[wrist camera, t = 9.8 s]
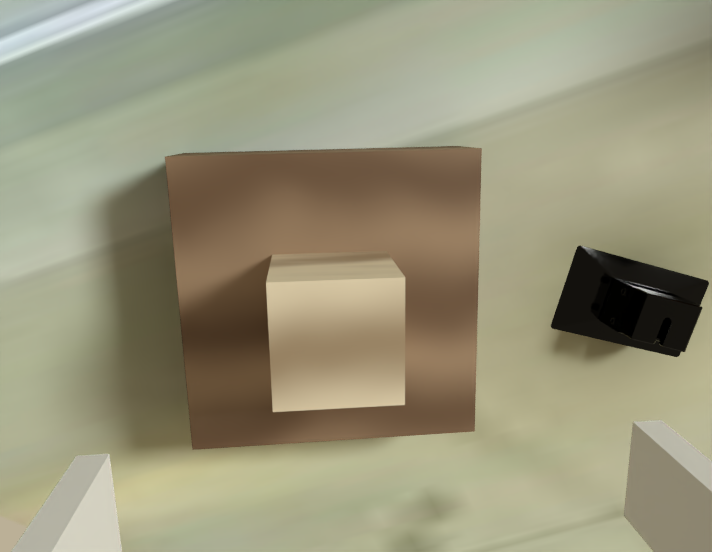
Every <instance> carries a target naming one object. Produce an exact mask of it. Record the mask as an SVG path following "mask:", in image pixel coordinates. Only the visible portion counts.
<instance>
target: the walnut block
mask: <svg viewBox="0 0 712 552" xmlns="http://www.w3.org/2000/svg"><path fill="white" fill-rule="evenodd" d="M481 151H482V148H471V147H461V146H443V147H405V148H366V149H328V150H289V151H250V152H212V153H182V154H177V155H172V156H167V157H165V161H166V172H167V183H168V193H169V204H170V214H171V225H172V236H173V246H174V257H175V268H176V278H177V289H178V299H179V310H180V321H181V331H182V342H183V352H184V363H185V374H186V384H187V395H188V405H189V416H190V427H191V437H192V448H193V449H209V448H224V447H240V446H255V445H270V444H286V443H301V442H317V441H332V440H348V439H363V438H379V437H394V436H410V435H425V434H440V433H456V432H471V431H475V392H476V352H477V311H478V271H479V231H480V191H481ZM370 251H387V253H388V254H389V255H390V257H391V258H392V259H393V261H394V262H395V264H396V265H397V266H398V268H399V269H400V271H401V272H402V273H403V275H404V276H405V405H395V406H377V407H358V408H340V409H322V410H304V411H285V412H273V407H272V388H271V369H270V350H269V331H268V312H267V293H266V280H267V276H268V271H269V267H270V262H271V258H272V255H281V254H310V253H340V252H370Z"/></svg>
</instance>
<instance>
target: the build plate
mask: <svg viewBox="0 0 712 552" xmlns="http://www.w3.org/2000/svg"><path fill="white" fill-rule="evenodd" d="M708 285H709V282H708V281H707V280H703V279H699V278H696V277H692V276H688V275H685V274H681V273H678V272H674V271H670V270H667V269H663V268H660V267H656V266H652V265H649V264H645V263H641V262H638V261H634V260H631V259H627V258H623V257H620V256H616V255H612V254H609V253H605V252H602V251H598V250H594V249H591V248H587V247H583V246H578V247H577V249H576V252H575V255H574V258H573V261H572V264H571V267H570V270H569V273H568V276H567V279H566V282H565V285H564V288H563V291H562V294H561V297H560V300H559V303H558V306H557V309H556V312H555V315H554V318H553V321H552V324H551V327H552V328H553V329H557V330H562V331H566V332H570V333H575V334H579V335H583V336H588V337H592V338H596V339H601V340H605V341H609V342H613V343H618V344H622V345H626V346H631V347H635V348H639V349H644V350H648V351H652V352H657V353H661V354H665V355H670V356H674V357H678V356H679V355H680V353H681V351H682V352H685V350H686V348H687V345H688V343H689V340H690V338H691V335H692V333H693V330H694V328H695V325H696V323H697V320H698V318H699V315H700V313H701V310H702V307H701V306H700V304H701V302H702V299H703V297H704V294H705V292H706V289H707V287H708Z"/></svg>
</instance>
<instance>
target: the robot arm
mask: <svg viewBox="0 0 712 552" xmlns="http://www.w3.org/2000/svg"><path fill="white" fill-rule="evenodd" d="M624 516H625V518H626V519H627V520H628V521H629V522H630V524H631V525H632V526H633V527H634V529H635V530H636V531H637V532H638V533H639V535H640V536H641V537H642V538H643V539H644V541H645V542H646V543H647V544H648V545H649V547H650V548H651V549H652V550H653V551H654V552H712V461H711V460H710V459H709V458H707V457H706V456H705V455H704V454H702V453H701V452H700V451H699V450H698V449H696V448H695V447H694V446H693V445H691V444H690V443H689V442H688V441H686V440H685V439H684V438H683V437H682V436H680V435H679V434H678V433H677V432H675V431H674V430H673V429H672V428H671V427H669V426H668V425H667V424H666V423H664V422H663V421H662V420H655V421H638V422H633V427H632V437H631V447H630V457H629V467H628V478H627V488H626V498H625V508H624ZM11 552H122V548H121V540H120V533H119V525H118V517H117V509H116V501H115V494H114V486H113V478H112V470H111V463H110V455H109V454H96V455H79V456H76V457H75V459H74V460H73V461H72V463H71V464H70V466H69V467H68V469H67V470H66V472H65V473H64V475H63V476H62V478H61V479H60V481H59V482H58V483H57V485H56V486H55V488H54V489H53V491H52V492H51V494H50V495H49V497H48V498H47V500H46V501H45V502H44V504H43V505H42V507H41V508H40V510H39V511H38V513H37V514H36V516H35V517H34V519H33V520H32V522H31V523H30V524H29V526H28V527H27V529H26V531H25V532H24V533H23V535H22V536H21V538H20V539H19V541H18V542H17V544H16V545H15V546H14V548H13V549H12V551H11Z"/></svg>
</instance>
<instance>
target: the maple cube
mask: <svg viewBox="0 0 712 552" xmlns="http://www.w3.org/2000/svg"><path fill="white" fill-rule="evenodd" d="M266 293H267V312H268V331H269V350H270V369H271V388H272V407H273V412H285V411H304V410H322V409H340V408H358V407H377V406H395V405H405V276H404V275H403V273H402V272H401V271H400V269H399V268H398V266H397V265H396V264H395V262H394V261H393V259H392V258H391V257H390V255H389V254H388V253H387V251H370V252H340V253H310V254H281V255H272V258H271V262H270V267H269V271H268V276H267V280H266Z"/></svg>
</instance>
